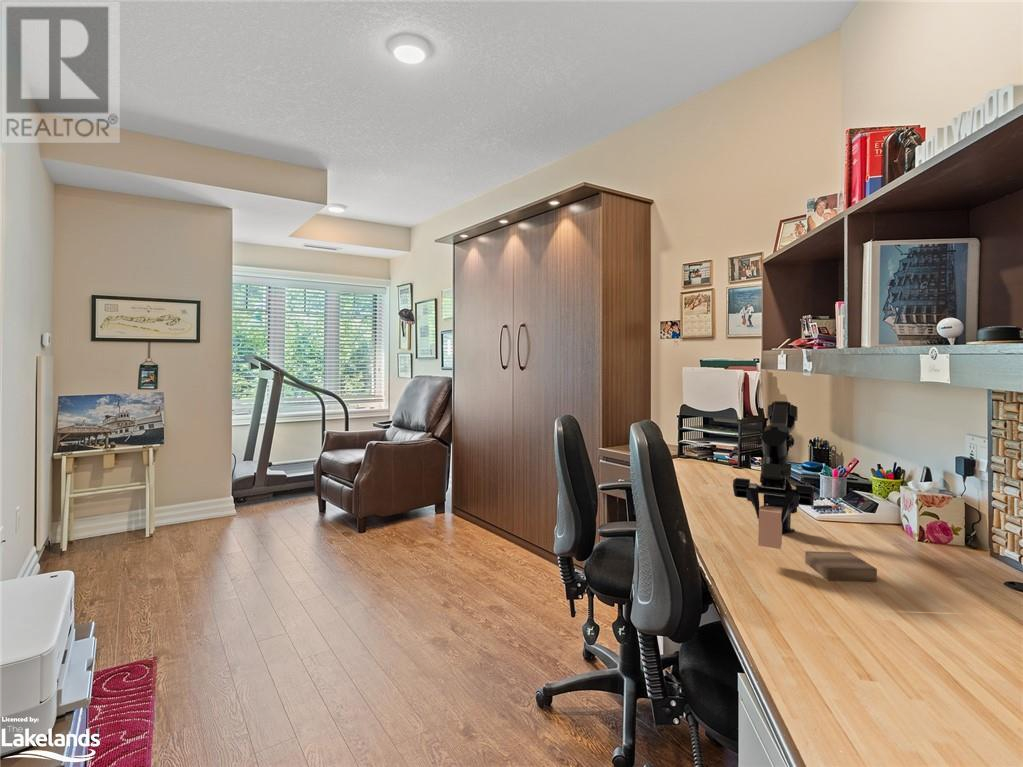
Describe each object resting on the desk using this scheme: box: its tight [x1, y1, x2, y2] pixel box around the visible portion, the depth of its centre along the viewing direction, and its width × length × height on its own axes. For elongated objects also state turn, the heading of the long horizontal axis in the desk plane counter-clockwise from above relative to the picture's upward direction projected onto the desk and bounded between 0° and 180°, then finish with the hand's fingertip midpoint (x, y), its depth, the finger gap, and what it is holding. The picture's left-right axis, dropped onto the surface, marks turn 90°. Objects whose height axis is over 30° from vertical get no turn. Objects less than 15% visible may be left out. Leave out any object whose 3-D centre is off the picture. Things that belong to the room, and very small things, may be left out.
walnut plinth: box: [804, 550, 878, 582], centre depth 130 cm, size 11×11×3 cm
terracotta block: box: [757, 505, 783, 550], centre depth 134 cm, size 5×5×9 cm
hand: (770, 519), depth 132 cm, fingers closed on terracotta block, 5 cm apart
